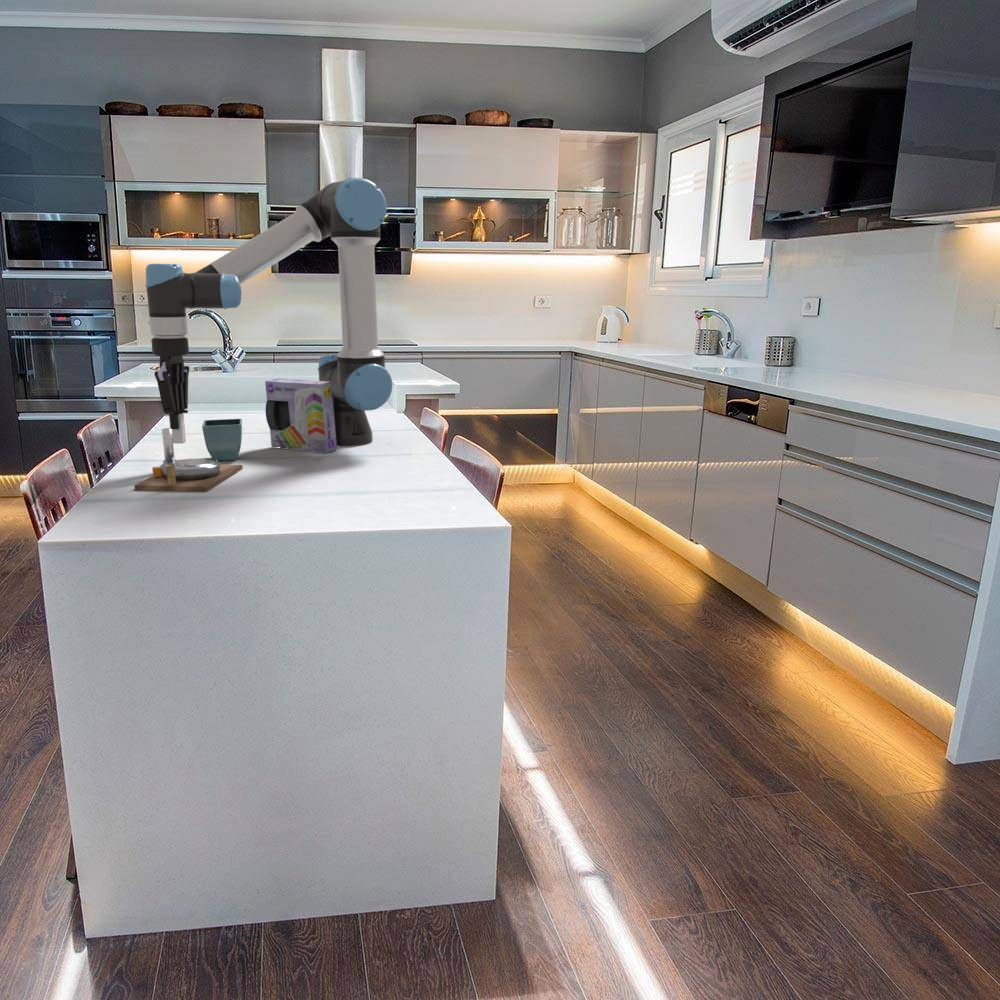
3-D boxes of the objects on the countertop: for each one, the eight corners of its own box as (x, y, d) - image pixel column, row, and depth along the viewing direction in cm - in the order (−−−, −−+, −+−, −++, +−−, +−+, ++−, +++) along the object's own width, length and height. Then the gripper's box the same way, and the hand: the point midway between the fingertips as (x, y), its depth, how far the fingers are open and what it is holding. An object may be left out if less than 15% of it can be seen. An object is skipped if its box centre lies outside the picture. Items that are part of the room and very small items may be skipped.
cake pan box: (266, 447, 217) (262, 378, 212) (279, 444, 221) (275, 376, 217) (325, 455, 208) (322, 383, 204) (338, 451, 213) (335, 381, 208)
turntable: (232, 472, 184) (229, 431, 182) (181, 483, 174) (177, 440, 171) (190, 464, 192) (187, 424, 189) (139, 474, 181) (135, 433, 179)
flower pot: (204, 463, 198) (201, 425, 196) (206, 456, 206) (203, 419, 204) (243, 462, 200) (241, 424, 198) (244, 454, 208) (242, 418, 206)
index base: (242, 469, 193) (241, 447, 191) (206, 491, 172) (204, 467, 171) (178, 467, 193) (176, 446, 192) (134, 490, 173) (132, 466, 172)
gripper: (165, 334, 192) (174, 437, 198) (138, 338, 179) (149, 448, 185) (198, 335, 191) (206, 437, 197) (173, 339, 179) (182, 448, 185)
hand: (178, 442), depth 191 cm, fingers closed
